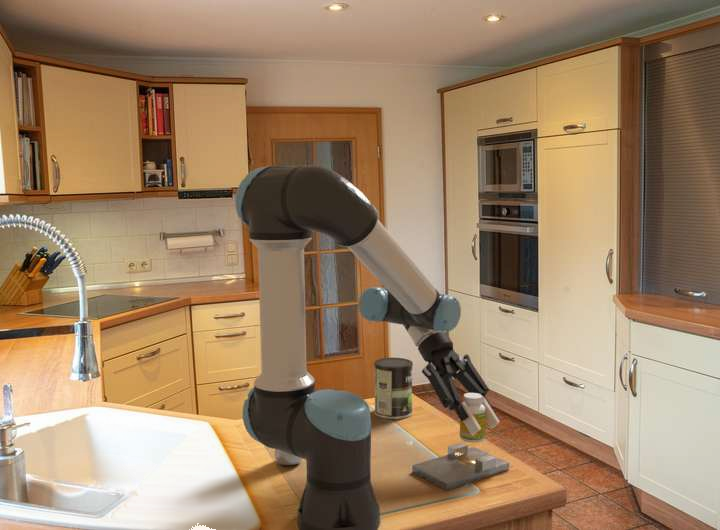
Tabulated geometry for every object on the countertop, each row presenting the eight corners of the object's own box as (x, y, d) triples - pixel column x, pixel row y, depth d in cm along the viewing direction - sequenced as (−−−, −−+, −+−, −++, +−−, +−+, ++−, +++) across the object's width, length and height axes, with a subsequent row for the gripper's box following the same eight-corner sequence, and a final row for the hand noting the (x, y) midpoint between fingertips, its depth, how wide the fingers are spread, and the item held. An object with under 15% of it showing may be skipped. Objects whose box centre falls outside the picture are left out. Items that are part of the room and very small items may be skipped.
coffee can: (414, 408, 189) (414, 358, 187) (409, 420, 178) (410, 368, 177) (377, 405, 191) (377, 356, 189) (370, 418, 181) (370, 366, 179)
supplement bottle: (479, 445, 145) (479, 401, 144) (455, 440, 148) (456, 396, 147) (488, 436, 150) (489, 393, 148) (465, 432, 153) (466, 390, 151)
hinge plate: (446, 490, 138) (447, 474, 138) (412, 471, 147) (412, 456, 146) (509, 469, 148) (509, 453, 148) (473, 453, 157) (473, 438, 157)
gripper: (450, 342, 164) (503, 426, 154) (393, 355, 153) (446, 448, 142) (467, 324, 159) (523, 410, 149) (409, 336, 148) (466, 430, 137)
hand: (485, 428), depth 146 cm, fingers closed on supplement bottle, 5 cm apart
